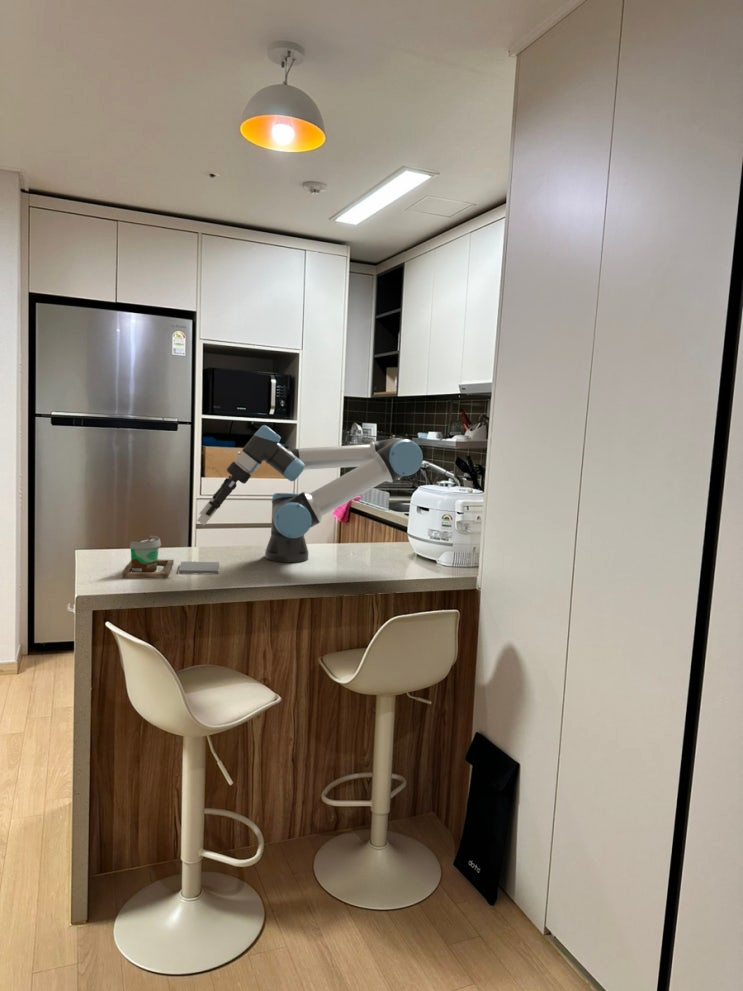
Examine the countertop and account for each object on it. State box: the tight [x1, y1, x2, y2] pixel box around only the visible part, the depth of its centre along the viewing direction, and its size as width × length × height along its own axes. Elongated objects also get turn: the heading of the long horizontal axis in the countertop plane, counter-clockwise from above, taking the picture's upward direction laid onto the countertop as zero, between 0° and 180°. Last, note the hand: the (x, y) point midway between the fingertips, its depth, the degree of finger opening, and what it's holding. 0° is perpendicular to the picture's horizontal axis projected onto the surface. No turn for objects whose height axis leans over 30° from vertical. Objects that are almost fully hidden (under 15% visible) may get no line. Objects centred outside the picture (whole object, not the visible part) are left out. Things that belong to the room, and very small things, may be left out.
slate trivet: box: [177, 561, 220, 574], centre depth 219 cm, size 12×12×1 cm
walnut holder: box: [121, 558, 175, 579], centre depth 213 cm, size 13×19×2 cm
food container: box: [129, 535, 162, 572], centre depth 212 cm, size 12×6×10 cm, turn 168°
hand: (201, 519), depth 222 cm, fingers open, 13 cm apart
